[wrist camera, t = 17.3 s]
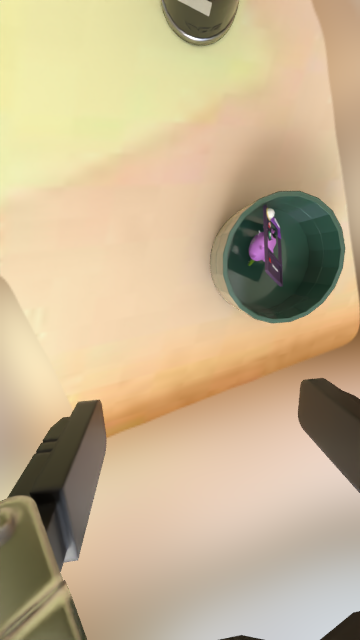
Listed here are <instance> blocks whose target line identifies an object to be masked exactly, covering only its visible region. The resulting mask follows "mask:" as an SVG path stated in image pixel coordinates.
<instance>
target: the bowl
mask: <svg viewBox="0 0 360 640" xmlns="http://www.w3.org/2000/svg"><path fill="white" fill-rule="evenodd" d="M263 205H267V207H268V208H271V209H273V210H274V212H275V214H274V218H276V221H277V222H278V224H279V226H280V232H281V253H282V274H283V286H281V287H280V286H279V285H278V284H277V283H276V282H275V281H274V280H273V279H272V278H271V277H270V276H269V275H268V274H267V273H266V272H265V262H264V261H263V260H260V261H254V262H253V263H252V265H250V266H248V263H249V262H248V261H251V257H250V256H249V245H250V243H251V241H252V239H253V238H254V237H255V236H256V235H257V234H259V231H260V232H264V228H263V227H264V224H263ZM267 219H268V218H267ZM270 224H271V229H273V231H275V232H274V234H275V236H276V245H275V247H274V249H273V252H274V253H273V254H274V255H275V257H276V258H277V259H278V239H277V230H276V228H275V226H274V225H273V223H272V222H271V221H270ZM267 229H268V227H267ZM270 232H271V230H270ZM344 254H345V244H344V238H343V232H342V227H341V226H340V224H339V222H338V220H337V218H336V216H335V214H334V212H333V211H332V210H331V209H330V208H329V207H328V206H327V205H326V204H325V203H323V202H322V201H321V200H320V199H319V198H317V197H315V196H312V195H309V194H306V193H304V192H301V191H279V192H276V193H274V194H271V195H268V196H266V197H263V198H261V199H259V200H257V201H255V202H253V203H252V204H250V205H248V206H247V207H245V208H243V209H242V210H240V211H239V212H237V213H236V214H235V215H234V216H232V217H231V218H230V219H229V220H228V221H227V222H226V223H225V224H224V225H223V227H222V228H221V229H220V231H219V233H218V234H217V236H216V239H215V241H214V243H213V247H212V250H211V256H210V270H211V275H212V279H213V282H214V285H215V287H216V289H217V290H218V292H219V293H220V295H221V296H222V297H223V298H224V299H225V301H226V302H228V303H229V304H231V305H232V306H234V307H235V308H237V309H238V310H240V311H242V312H244V313H245V314H247V315H249V316H251V317H252V318H254V319H257V320H261V321H265V322H269V323H282V322H291V321H294V320H296V319H299V318H301V317H304V316H306V315H308V314H309V313H311V312H312V311H313V310H315V309H316V308H317V307H318V306H320V305H321V304H322V303H323V302H324V301H325V300H326V298H327V297H328V296H329V294H330V293H331V292H332V290H333V289H334V288H335V286H336V283H337V281H338V279H339V276H340V274H341V271H342V268H343V262H344Z"/></svg>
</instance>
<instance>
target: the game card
mask: <svg viewBox="0 0 360 640" xmlns="http://www.w3.org/2000/svg"><path fill="white" fill-rule="evenodd" d="M274 214H275V212H274V210H273V209H271V208H268V207H267V205H263V224H264V227H263V228H264V232H260V231H259V234H257V235H256V236H255V237H254V238H253V239H252V241H251V243H250V245H249V256H250V257H251V261H248V262H249V263H248V266H250V265H252V263H253V262H254V261H260V260H263V261H264V262H265V272H266V273H267V274H268V275H269V276H270V277H271V278H272V279H273V280H274V281H275V282H276V283H277V284H278V285H279V286H280V287H281V286H283V274H282V253H281V232H280V226H279V224H278V222H277V221H276V218H274ZM267 218H268V219H267ZM270 221H271V222H272V223H273V225H274V226H275V228H276V230H277V239H278V259H277V258H276V257H275V255H274V254H273V253H274V252H273V249H274V247H275V245H276V236H275V234H274V232H275V231H273V229H271V224H270ZM267 227H268V229H267ZM270 230H271V232H270Z"/></svg>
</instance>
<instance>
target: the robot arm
mask: <svg viewBox="0 0 360 640" xmlns="http://www.w3.org/2000/svg"><path fill="white" fill-rule="evenodd" d="M238 4H239V0H161V6H162V9H163V13H164V15H165V18H166V20H167V22H168V23H169V25H170V27H171V28H172V29H173V31H174V32H175V33H176V34H177V35H178V36H179V37H180V38H182V39H183V40H185V41H186V42H188V43H191V44H194V45H209V44H212V43H214V42H216V41H218V40H219V39H221V38H222V37H223V36H224V35H225V34H226V33H227V31H228V30H229V28H230V27H231V25H232V23H233V20H234V18H235V15H236V12H237V8H238ZM298 418H299V422H300V424H301V426H302V428H303V430H304V431H305V432H306V433H307V434H308V435H309V436H310V438H311V439H312V440H313V441H314V442H315V443H316V444H317V445H318V447H319V448H320V449H321V450H322V451H323V452H324V453H325V454H326V456H327V457H328V458H329V459H330V460H331V461H332V462H333V463H334V465H336V467H337V468H338V469H339V470H340V471H341V472H342V474H343V475H344V476H345V477H346V478H347V479H348V480H349V481H350V483H351V484H352V485H353V486H354V487H355V488H356V489H357V490H358V492H359V493H360V399H359V398H357V397H356V396H354V395H351V394H349V393H347V392H344V391H342V390H341V389H339V388H338V387H336V386H335V385H333V384H332V383H330V382H329V381H327V380H326V379H324V378H318V379H308V380H303V381H302V382H301V387H300V398H299V407H298ZM105 451H106V431H105V424H104V417H103V410H102V404H101V401H100V400H92V401H82V402H78V403H77V405H76V407H75V409H74V410H73V412H72V414H71V416H70V417H64V418H62V419H61V420H59V421H58V422H57V423H56V424H55V425H54V426H53V427H51V428H50V430H49V431H48V433H47V435H46V436H45V438H44V439H43V443H41V444H40V446H39V448H38V449H37V451H36V454H34V456H33V457H32V459H31V460H30V462H29V464H28V465H27V467H26V469H25V470H24V472H23V473H22V475H21V477H20V478H19V480H18V482H17V483H16V485H15V486H14V488H13V490H12V491H11V493H10V494H9V496H8V498H7V499H5V500H2V501H0V640H87V638H86V635H85V633H84V630H83V627H82V624H81V621H80V618H79V616H78V613H77V610H76V608H75V605H74V602H73V599H72V596H71V594H70V591H69V588H68V586H67V584H66V582H65V580H64V581H63V579H62V576H61V573H60V572H61V569H62V566H63V562H69V561H76V560H78V558H79V554H80V550H81V546H82V542H83V538H84V534H85V530H86V526H87V523H88V519H89V515H90V511H91V506H92V502H93V499H94V495H95V491H96V487H97V483H98V479H99V475H100V471H101V467H102V464H103V460H104V456H105ZM220 640H263V639H258V638H253V637H248V636H243V635H240V636H235V637H230V638H225V639H220ZM320 640H360V611H359V612H354V613H352V614H351V615H350V616H349V617H348V618H346V619H345V620H344V621H343V622H341V623H340V624H339V625H338V626H336V627H335V628H334V629H333V630H332V631H330V632H329V633H328V634H327V635H325V636H324V637H323V638H322V639H320Z"/></svg>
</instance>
